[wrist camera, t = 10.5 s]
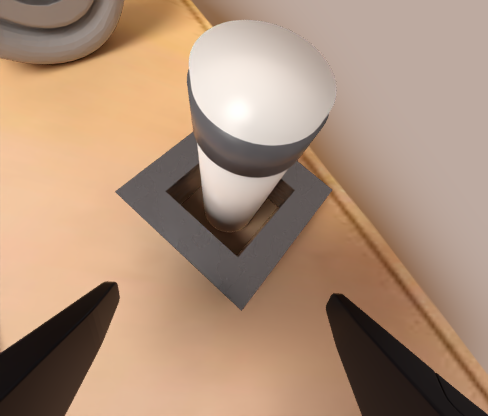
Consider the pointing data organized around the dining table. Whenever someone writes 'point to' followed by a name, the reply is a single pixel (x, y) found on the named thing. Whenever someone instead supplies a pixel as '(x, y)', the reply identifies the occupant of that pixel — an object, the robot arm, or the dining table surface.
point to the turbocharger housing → (55, 28)
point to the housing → (203, 241)
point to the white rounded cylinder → (253, 112)
